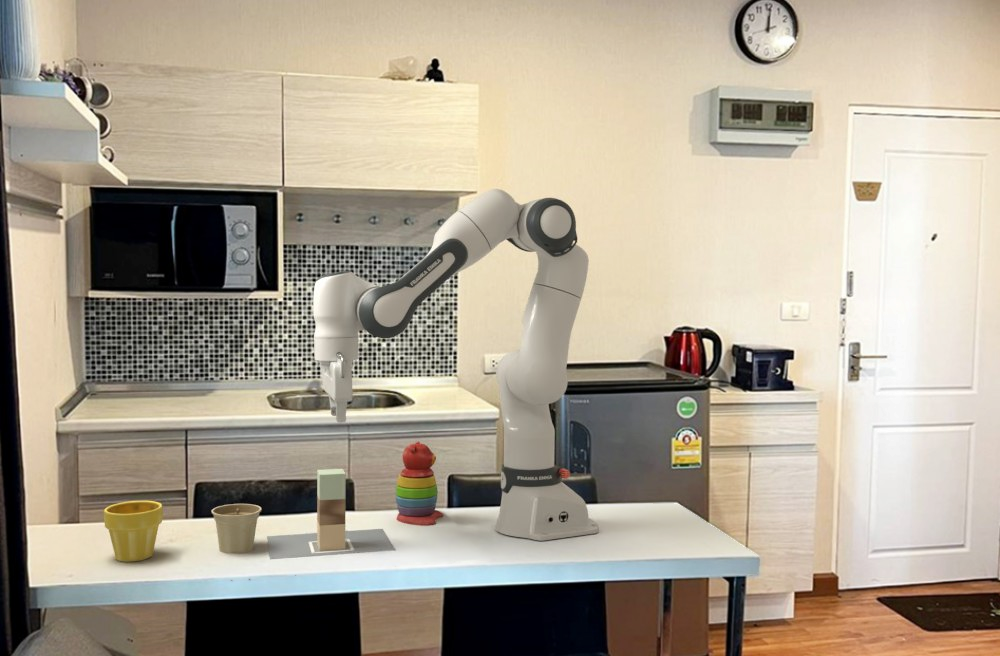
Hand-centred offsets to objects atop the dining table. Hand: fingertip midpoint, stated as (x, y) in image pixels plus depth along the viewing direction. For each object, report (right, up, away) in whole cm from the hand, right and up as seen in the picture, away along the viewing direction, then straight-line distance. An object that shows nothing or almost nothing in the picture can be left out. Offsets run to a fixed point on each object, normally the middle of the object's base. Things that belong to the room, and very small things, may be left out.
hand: (338, 418), depth 181 cm
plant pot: (-38, -26, -10) cm, 47 cm away
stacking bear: (+15, -25, +18) cm, 34 cm away
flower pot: (-19, -26, -7) cm, 33 cm away
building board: (-1, -26, -2) cm, 26 cm away
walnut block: (-1, -20, -5) cm, 21 cm away
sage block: (-1, -15, -5) cm, 16 cm away
